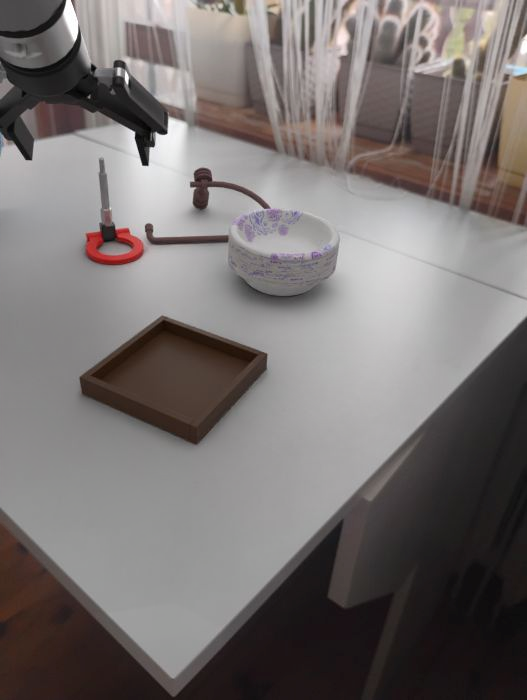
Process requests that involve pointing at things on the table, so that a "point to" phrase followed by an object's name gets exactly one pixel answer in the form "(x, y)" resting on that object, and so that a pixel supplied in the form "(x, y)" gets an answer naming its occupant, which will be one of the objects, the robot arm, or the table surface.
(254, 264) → the paper bowls
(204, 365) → the tray
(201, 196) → the toilet paper hanger
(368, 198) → the table surface
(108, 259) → the tow hook
